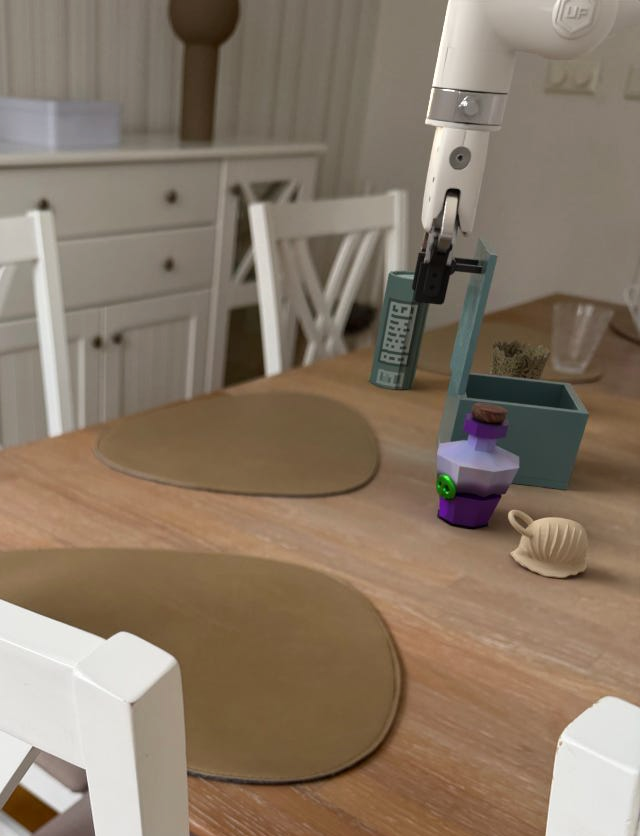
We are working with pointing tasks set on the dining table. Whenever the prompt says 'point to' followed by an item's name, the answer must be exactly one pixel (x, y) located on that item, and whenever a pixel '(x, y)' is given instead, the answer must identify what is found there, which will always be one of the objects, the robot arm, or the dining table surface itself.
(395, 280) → the can
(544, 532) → the decorative ornament
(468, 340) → the freezer lid
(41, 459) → the dining table surface
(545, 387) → the box
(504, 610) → the dining table surface
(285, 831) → the dining table surface
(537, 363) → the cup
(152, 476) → the dining table surface
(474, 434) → the potion bottle
